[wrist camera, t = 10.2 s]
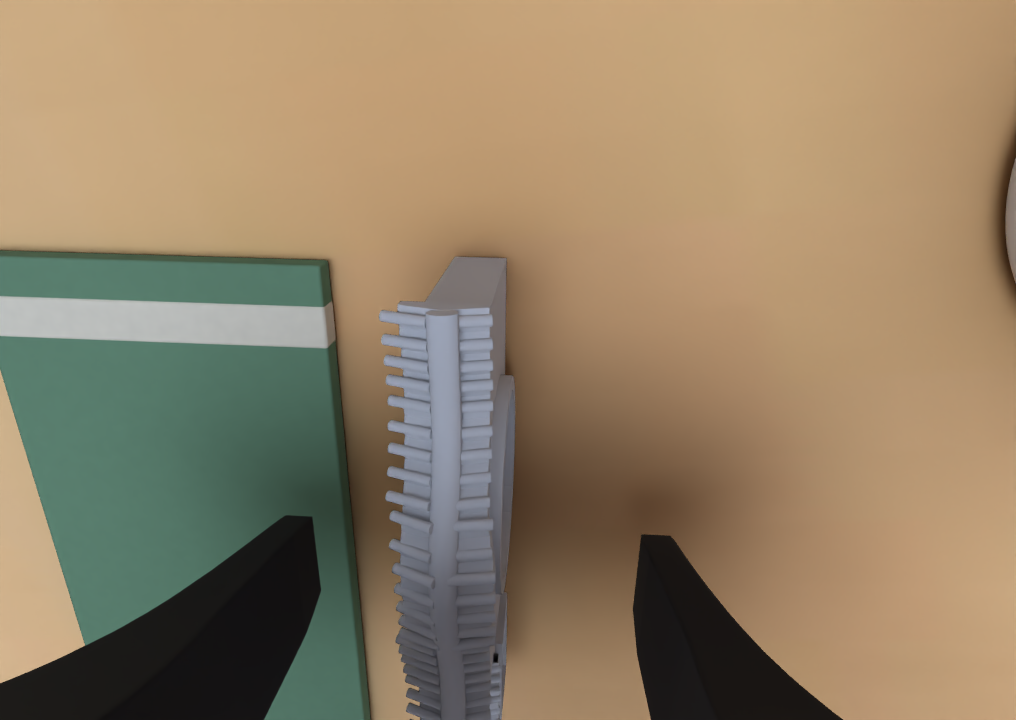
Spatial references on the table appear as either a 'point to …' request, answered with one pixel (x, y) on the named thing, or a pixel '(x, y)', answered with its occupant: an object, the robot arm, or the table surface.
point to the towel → (186, 436)
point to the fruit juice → (1011, 221)
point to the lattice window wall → (454, 490)
